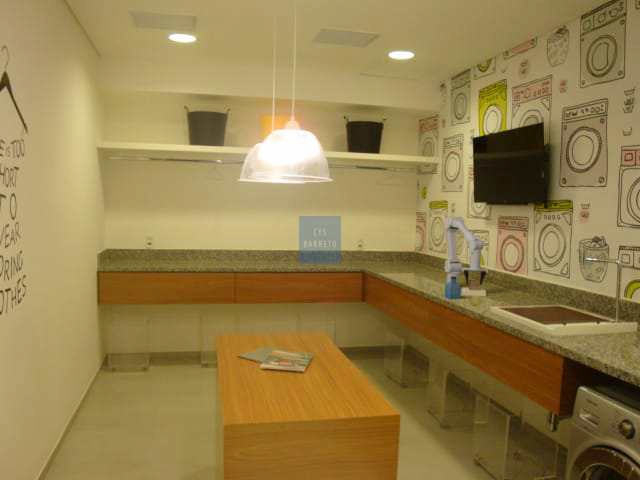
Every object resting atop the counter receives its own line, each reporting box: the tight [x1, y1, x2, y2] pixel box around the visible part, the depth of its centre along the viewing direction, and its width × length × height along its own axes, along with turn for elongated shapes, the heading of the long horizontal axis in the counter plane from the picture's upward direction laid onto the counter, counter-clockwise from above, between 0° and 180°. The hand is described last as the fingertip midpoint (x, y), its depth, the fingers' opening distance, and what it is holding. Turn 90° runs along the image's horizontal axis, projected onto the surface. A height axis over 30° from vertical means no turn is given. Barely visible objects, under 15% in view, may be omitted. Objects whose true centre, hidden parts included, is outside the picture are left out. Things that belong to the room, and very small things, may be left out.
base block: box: [461, 286, 487, 297], centre depth 304 cm, size 12×12×3 cm
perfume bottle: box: [444, 276, 462, 300], centre depth 288 cm, size 6×6×12 cm
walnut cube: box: [468, 279, 480, 290], centre depth 304 cm, size 5×5×5 cm
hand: (474, 284), depth 304 cm, fingers open, 7 cm apart
